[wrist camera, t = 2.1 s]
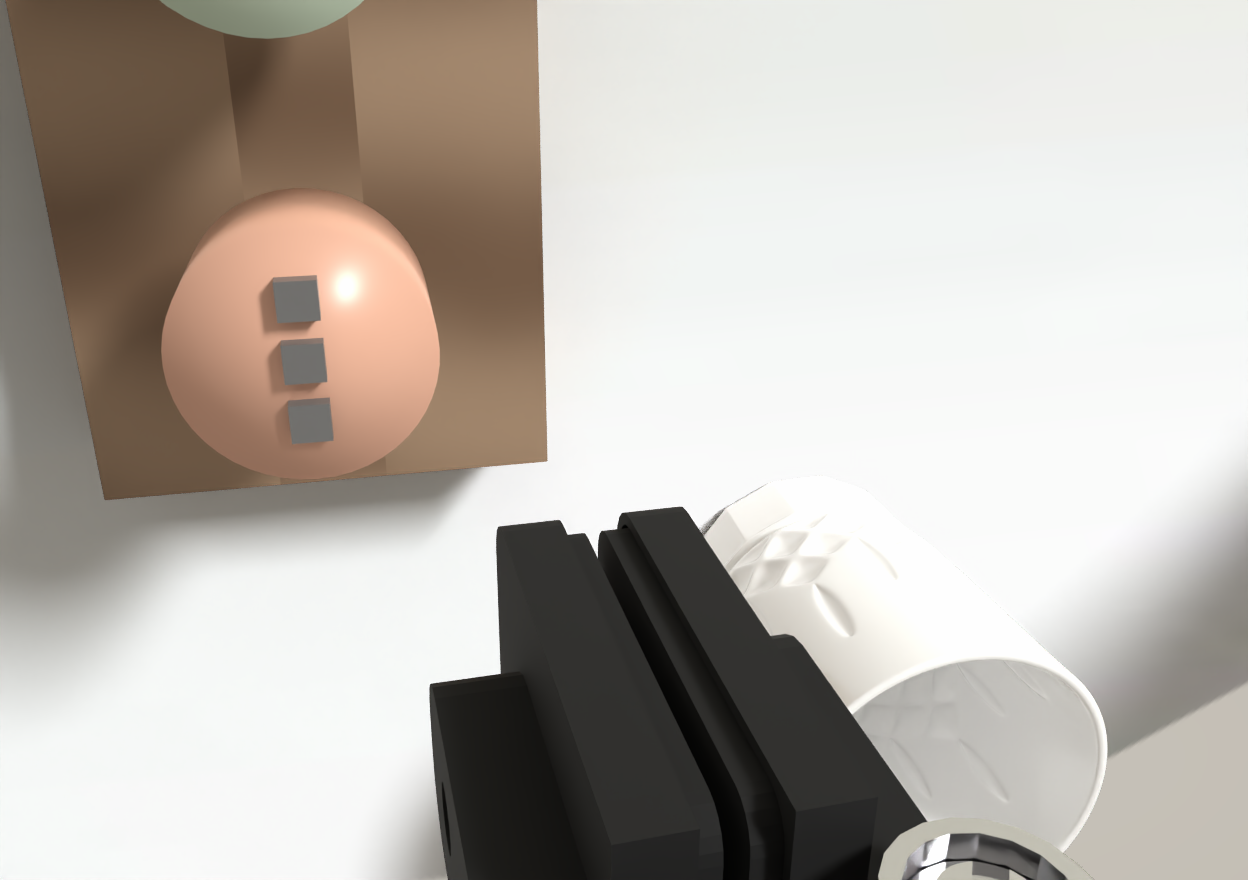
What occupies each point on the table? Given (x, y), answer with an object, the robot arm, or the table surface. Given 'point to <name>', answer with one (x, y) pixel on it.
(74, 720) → the table surface
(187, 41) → the button board
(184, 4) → the plunger
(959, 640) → the white cup
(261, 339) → the plunger
